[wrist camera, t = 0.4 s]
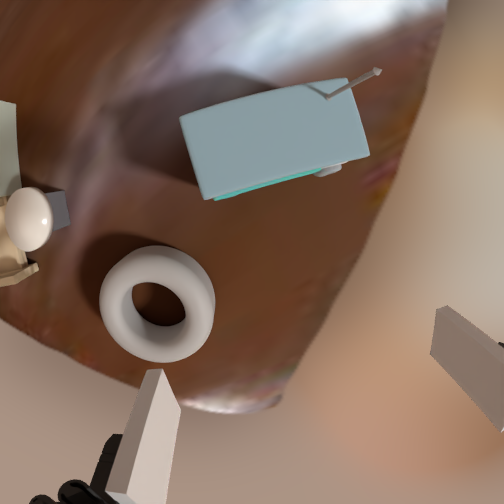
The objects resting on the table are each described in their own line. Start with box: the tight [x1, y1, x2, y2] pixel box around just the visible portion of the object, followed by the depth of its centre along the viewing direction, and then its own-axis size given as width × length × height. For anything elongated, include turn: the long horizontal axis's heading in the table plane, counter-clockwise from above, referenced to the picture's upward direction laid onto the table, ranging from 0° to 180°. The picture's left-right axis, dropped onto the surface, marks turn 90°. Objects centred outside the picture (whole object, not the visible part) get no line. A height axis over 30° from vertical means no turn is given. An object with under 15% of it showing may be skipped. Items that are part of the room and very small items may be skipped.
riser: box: [45, 191, 71, 231], centre depth 32 cm, size 5×5×6 cm
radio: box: [179, 67, 382, 201], centre depth 26 cm, size 16×9×20 cm, turn 106°
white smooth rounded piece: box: [5, 187, 54, 251], centre depth 29 cm, size 8×8×2 cm
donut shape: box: [99, 246, 215, 362], centre depth 36 cm, size 15×15×7 cm
